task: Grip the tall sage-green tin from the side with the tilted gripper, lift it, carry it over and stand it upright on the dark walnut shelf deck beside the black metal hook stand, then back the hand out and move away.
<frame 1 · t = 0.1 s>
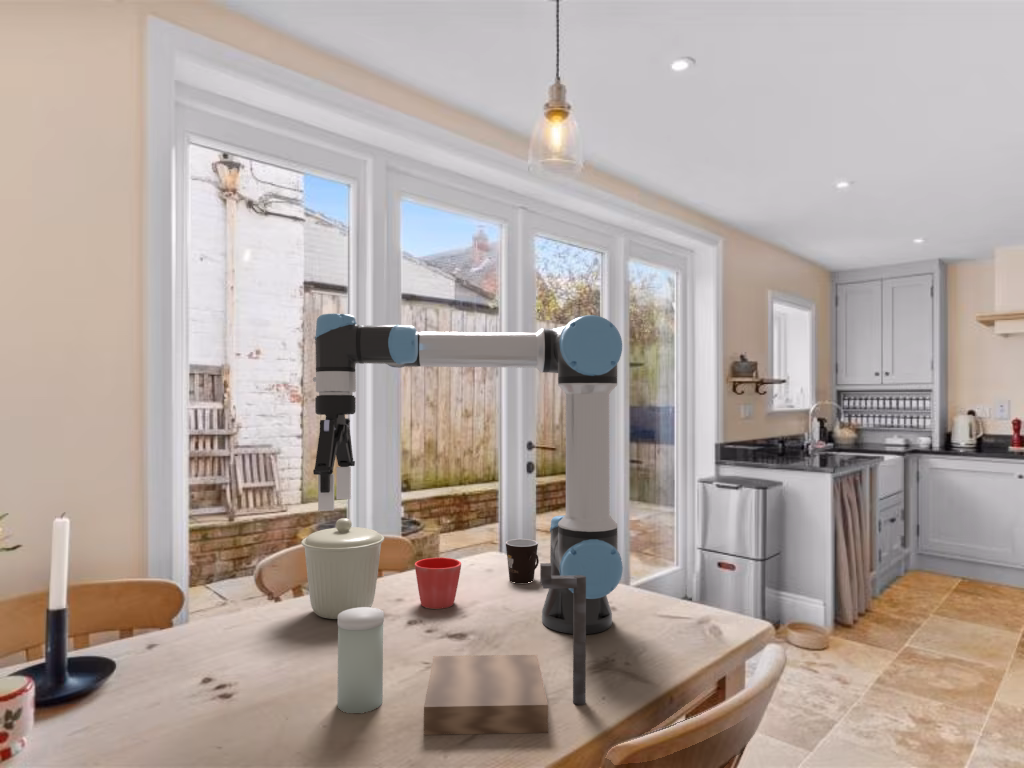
hand: (335, 504, 123), 28 cm above the table, tool pointing down, fingers open, 13 cm apart
sage tin: (360, 702, 102), on the table
canister: (342, 612, 144), on the table
coffee mug: (522, 582, 168), on the table
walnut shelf: (485, 703, 102), on the table
flower pot: (437, 604, 150), on the table
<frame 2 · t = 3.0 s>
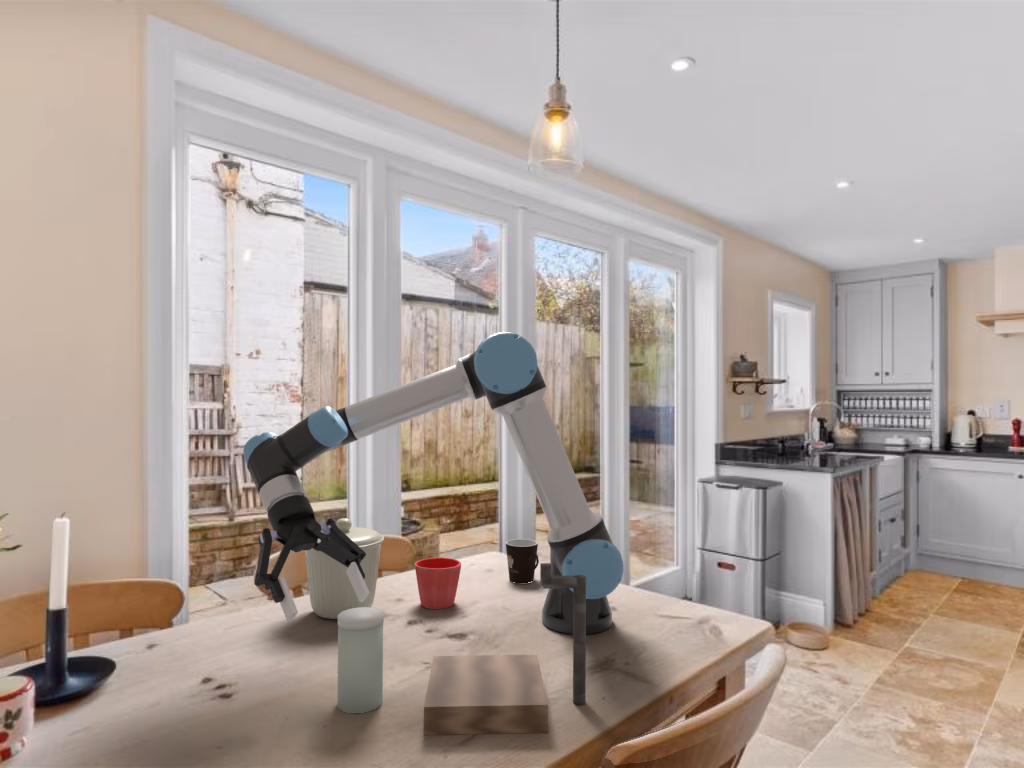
hand: (330, 607, 107), 13 cm above the table, tool tilted 45°, fingers open, 13 cm apart
nothing on the table moved.
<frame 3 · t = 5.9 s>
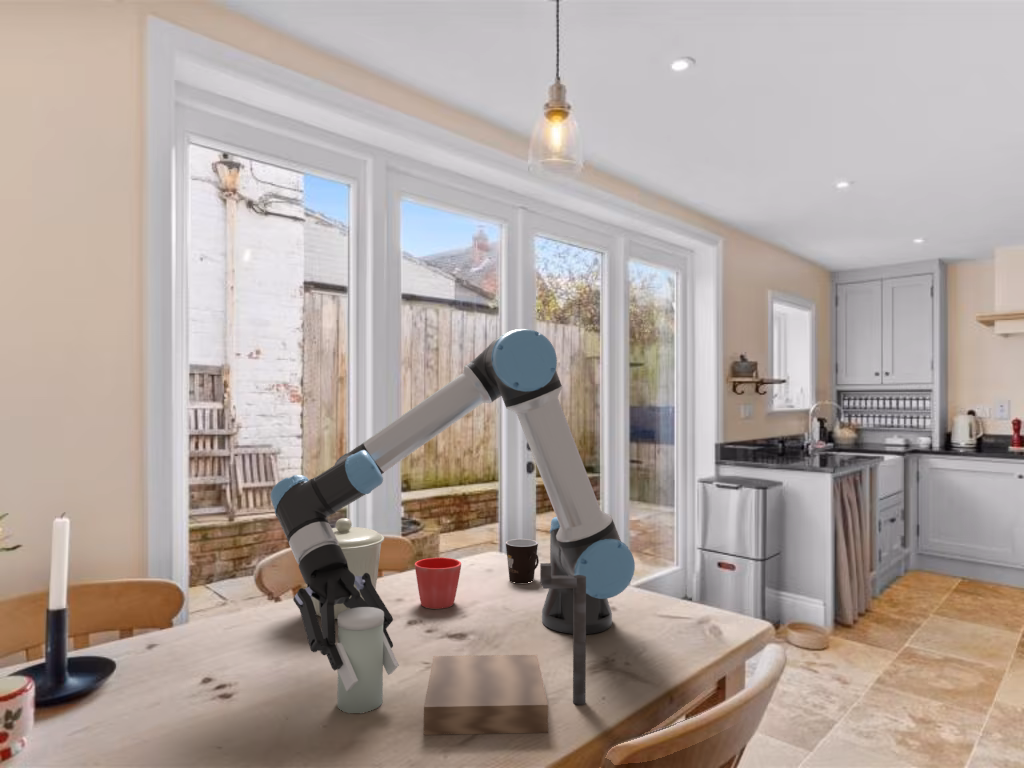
hand: (373, 677, 99), 5 cm above the table, tool tilted 45°, fingers closed on sage tin, 7 cm apart
sage tin: (360, 702, 102), on the table, touching gripper
everything else where it was.
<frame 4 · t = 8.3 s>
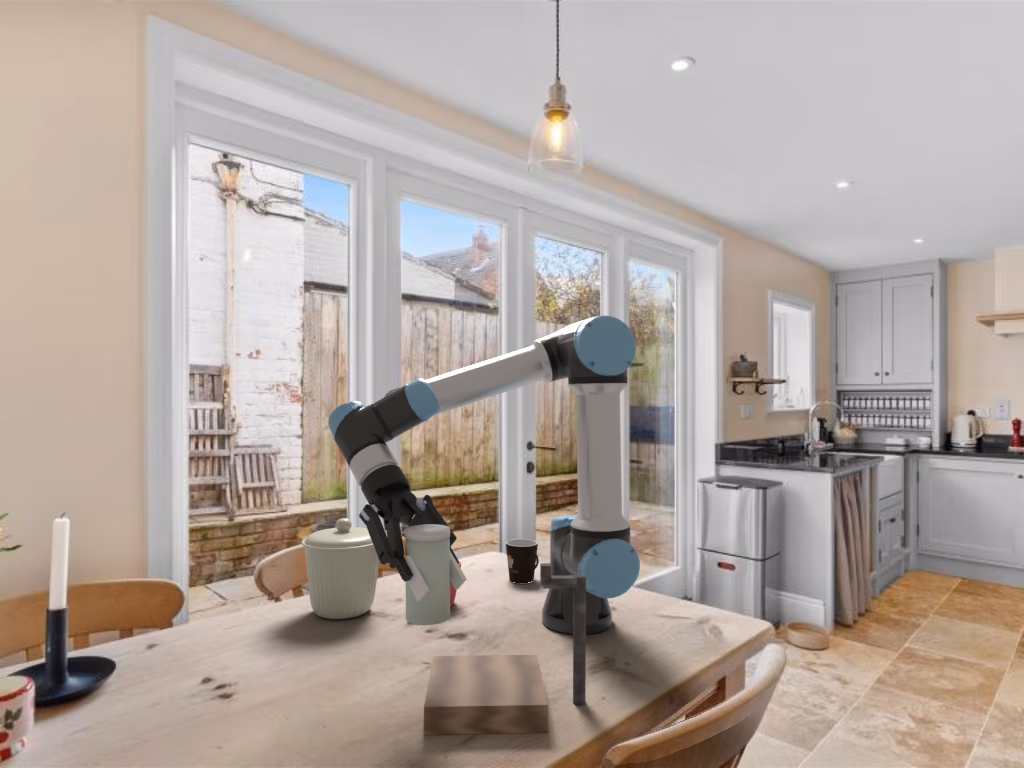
hand: (442, 590, 99), 19 cm above the table, tool tilted 45°, fingers closed on sage tin, 7 cm apart
sage tin: (428, 617, 101), point 14 cm above the table, touching gripper
everything else where it was.
when the fingers open (10 cm above the table, at t = 10.9 s): sage tin stays where it is, resting on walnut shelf.
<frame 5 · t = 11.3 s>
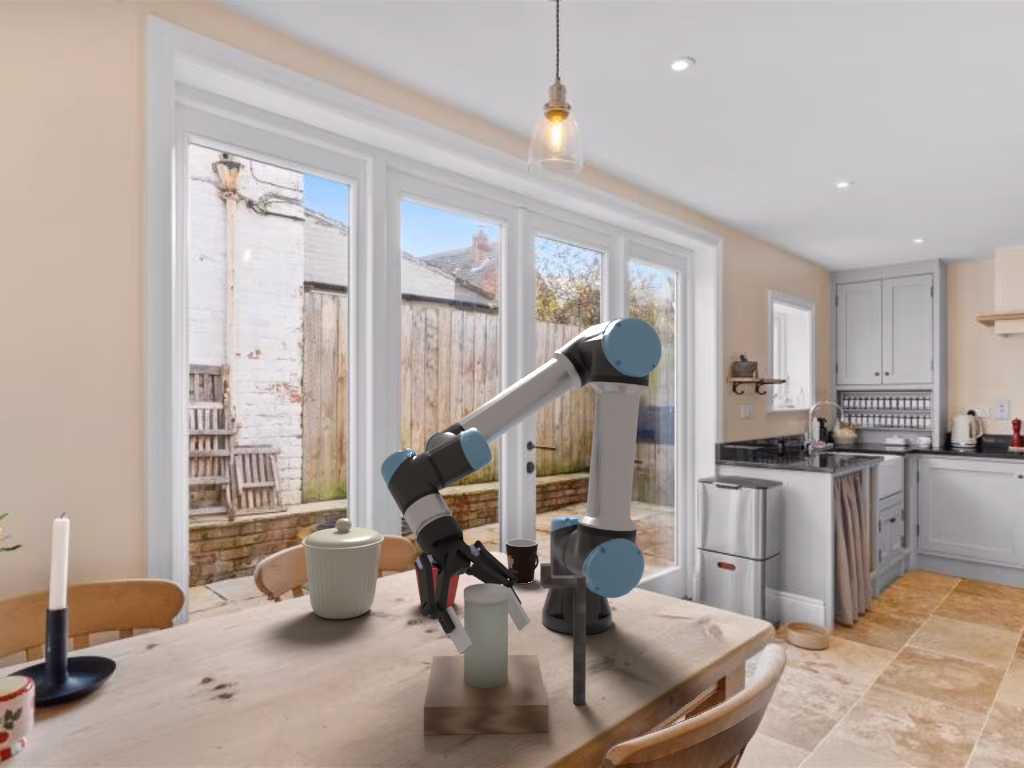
hand: (497, 637, 100), 11 cm above the table, tool tilted 45°, fingers open, 13 cm apart
sage tin: (485, 678, 102), point 4 cm above the table, touching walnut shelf
everything else where it was.
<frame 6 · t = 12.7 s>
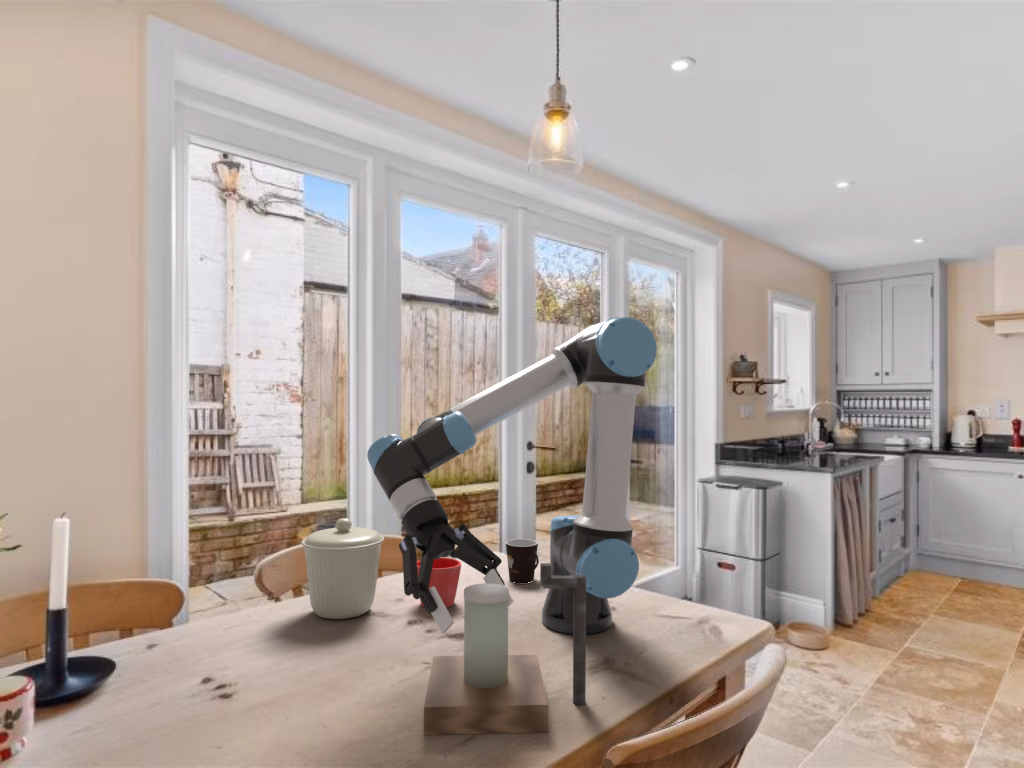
hand: (479, 616, 102), 14 cm above the table, tool tilted 45°, fingers open, 13 cm apart
nothing on the table moved.
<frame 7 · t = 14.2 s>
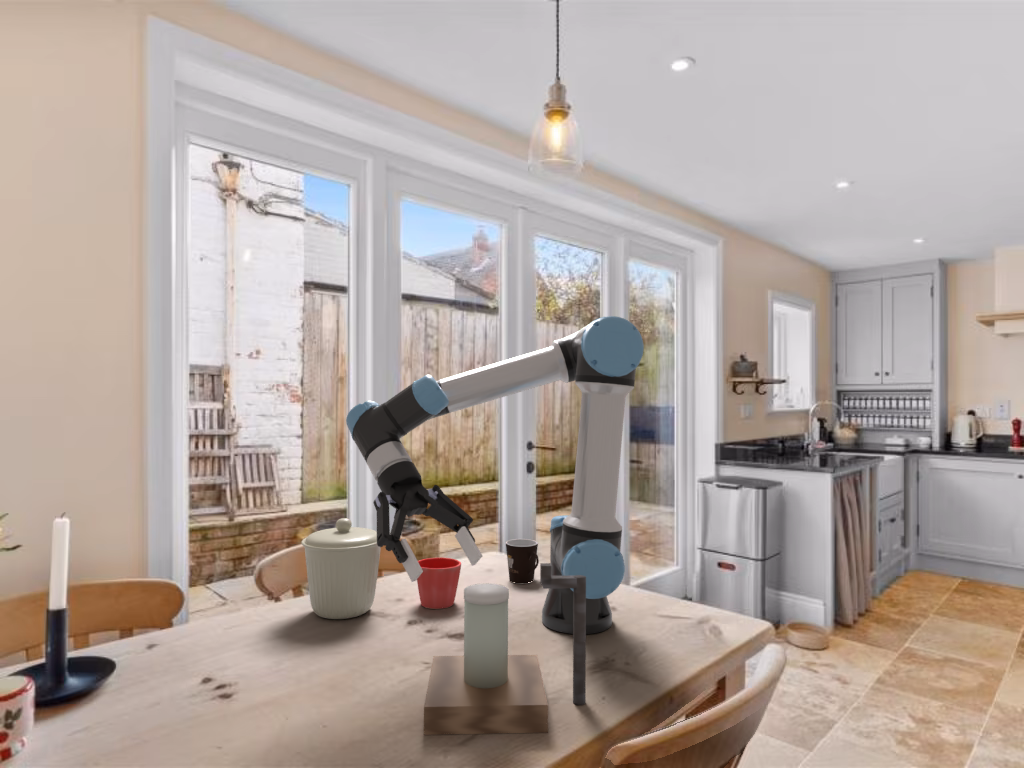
hand: (449, 568, 108), 20 cm above the table, tool tilted 45°, fingers open, 13 cm apart
nothing on the table moved.
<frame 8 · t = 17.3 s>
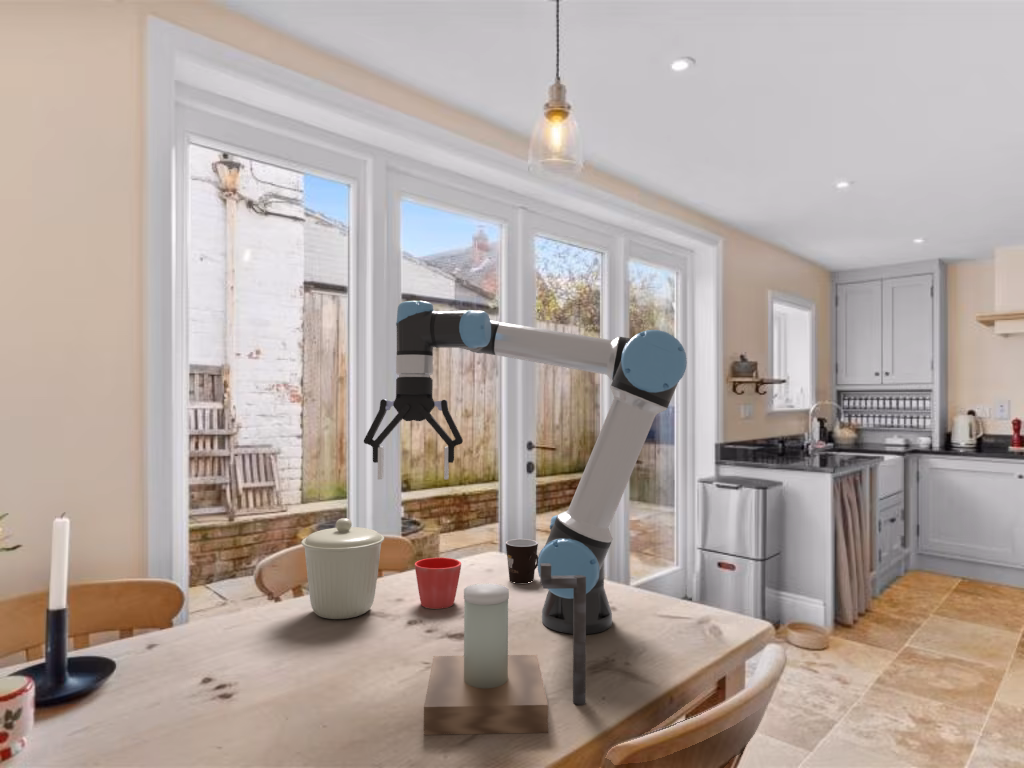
hand: (413, 478, 132), 32 cm above the table, tool pointing down, fingers open, 13 cm apart
nothing on the table moved.
at the end: sage tin inside the target area on the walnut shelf (0.0 cm from its centre), point 4.0 cm above the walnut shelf's base; sage tin tilted 0°; the gripper is holding nothing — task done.
